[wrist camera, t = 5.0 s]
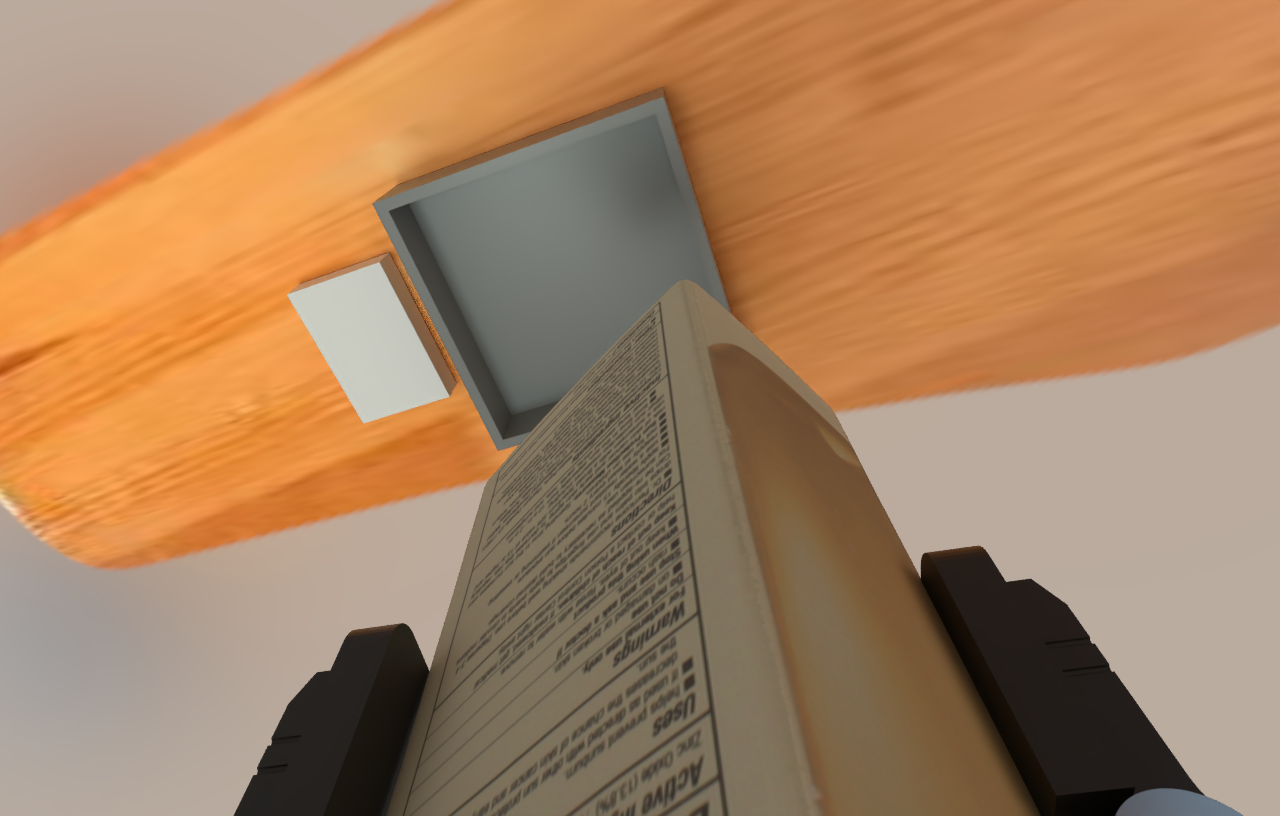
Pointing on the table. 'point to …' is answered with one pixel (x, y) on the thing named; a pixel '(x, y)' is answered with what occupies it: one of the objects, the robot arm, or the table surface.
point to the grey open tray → (517, 269)
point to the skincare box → (695, 612)
